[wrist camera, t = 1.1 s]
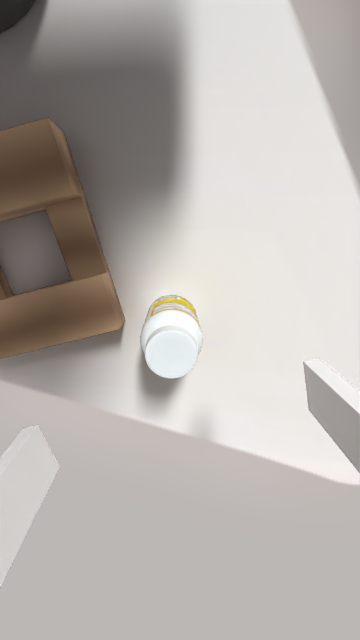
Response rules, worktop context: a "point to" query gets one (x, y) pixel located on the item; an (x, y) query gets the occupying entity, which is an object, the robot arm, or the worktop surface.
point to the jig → (73, 238)
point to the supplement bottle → (171, 337)
